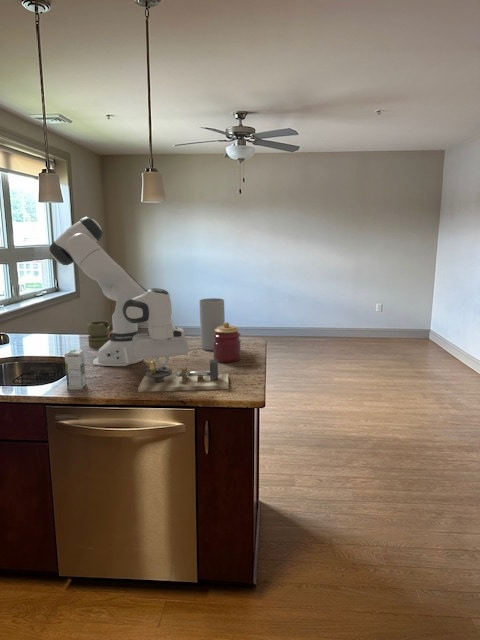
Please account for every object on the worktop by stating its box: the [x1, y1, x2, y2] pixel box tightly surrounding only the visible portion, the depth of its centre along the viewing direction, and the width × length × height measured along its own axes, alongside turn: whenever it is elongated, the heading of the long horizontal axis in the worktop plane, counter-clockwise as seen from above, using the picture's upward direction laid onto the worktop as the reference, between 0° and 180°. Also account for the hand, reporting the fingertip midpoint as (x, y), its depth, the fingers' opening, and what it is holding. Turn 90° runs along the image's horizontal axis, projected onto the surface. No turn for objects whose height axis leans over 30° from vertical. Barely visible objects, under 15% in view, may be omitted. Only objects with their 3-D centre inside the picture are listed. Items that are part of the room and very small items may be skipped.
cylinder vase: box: [199, 297, 226, 352], centre depth 220 cm, size 12×12×25 cm
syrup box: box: [64, 349, 87, 391], centre depth 166 cm, size 6×6×14 cm
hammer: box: [176, 359, 221, 381], centre depth 168 cm, size 17×4×7 cm, turn 92°
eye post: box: [181, 362, 188, 384], centre depth 168 cm, size 1×7×6 cm, turn 2°
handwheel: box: [145, 360, 173, 378], centre depth 167 cm, size 10×10×6 cm
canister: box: [212, 321, 242, 363], centre depth 200 cm, size 13×13×18 cm
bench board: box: [137, 373, 229, 393], centre depth 168 cm, size 34×14×4 cm, turn 92°
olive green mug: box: [86, 320, 111, 348], centre depth 232 cm, size 11×12×11 cm
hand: (162, 367), depth 163 cm, fingers closed
